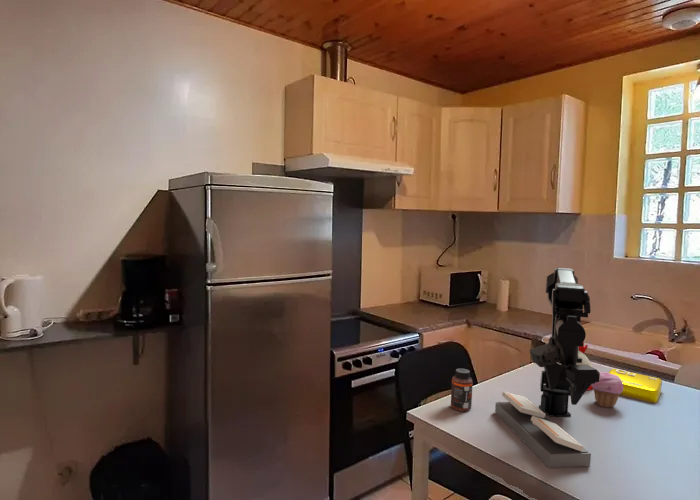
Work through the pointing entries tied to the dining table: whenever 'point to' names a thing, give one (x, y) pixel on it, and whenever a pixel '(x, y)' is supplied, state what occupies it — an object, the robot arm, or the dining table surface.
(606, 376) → the cupcake
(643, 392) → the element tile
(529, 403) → the rocker
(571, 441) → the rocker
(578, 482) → the dining table surface
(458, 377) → the supplement bottle
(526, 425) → the grey switch panel
